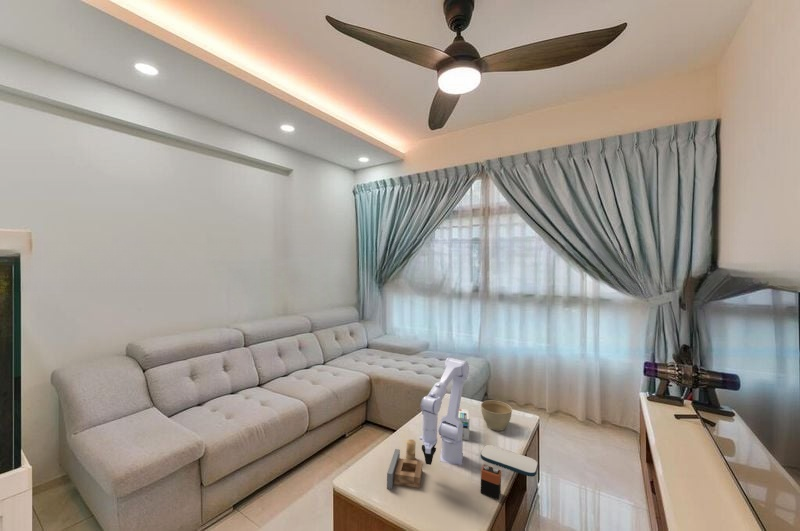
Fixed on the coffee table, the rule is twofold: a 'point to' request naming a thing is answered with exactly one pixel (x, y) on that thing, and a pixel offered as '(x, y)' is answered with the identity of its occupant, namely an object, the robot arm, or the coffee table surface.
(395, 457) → the slate stop wall
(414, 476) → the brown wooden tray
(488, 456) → the white teal rounded slab
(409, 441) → the oak dowel
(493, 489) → the battery
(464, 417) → the light bulb box
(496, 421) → the planter bowl
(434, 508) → the coffee table surface
